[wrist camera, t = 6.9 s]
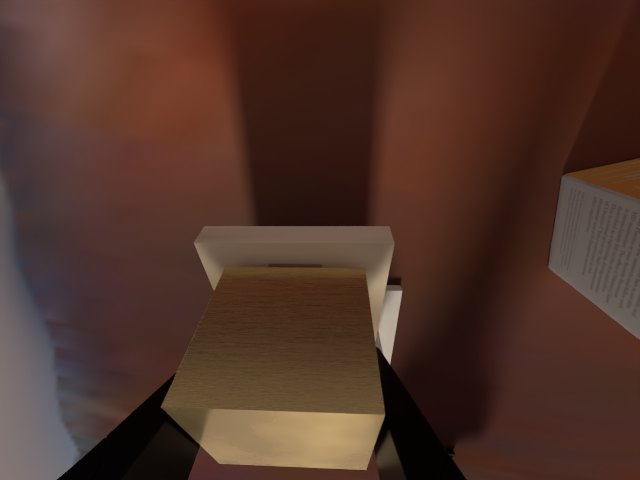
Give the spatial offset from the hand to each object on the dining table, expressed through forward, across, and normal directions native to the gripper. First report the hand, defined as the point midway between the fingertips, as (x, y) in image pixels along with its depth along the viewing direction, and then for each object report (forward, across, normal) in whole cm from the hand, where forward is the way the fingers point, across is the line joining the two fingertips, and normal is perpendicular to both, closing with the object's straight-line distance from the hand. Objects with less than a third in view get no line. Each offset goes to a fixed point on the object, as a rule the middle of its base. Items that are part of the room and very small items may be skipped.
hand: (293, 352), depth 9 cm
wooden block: (+2, 0, 0) cm, 2 cm away
